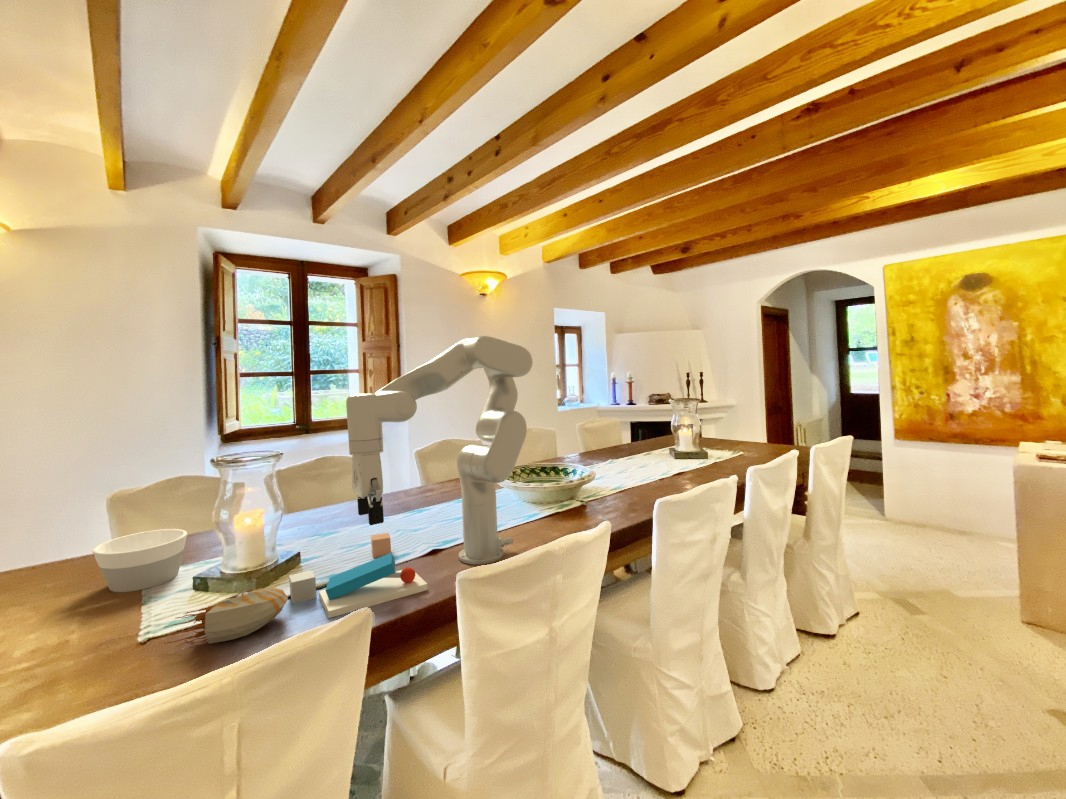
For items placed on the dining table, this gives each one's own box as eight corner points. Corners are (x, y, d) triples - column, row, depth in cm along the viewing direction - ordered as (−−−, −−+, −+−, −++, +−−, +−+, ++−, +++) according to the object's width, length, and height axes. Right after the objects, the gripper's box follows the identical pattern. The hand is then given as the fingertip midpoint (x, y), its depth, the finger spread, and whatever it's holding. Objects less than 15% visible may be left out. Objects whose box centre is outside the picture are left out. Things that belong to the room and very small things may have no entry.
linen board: (410, 573, 124) (410, 567, 124) (427, 589, 114) (427, 583, 114) (319, 597, 112) (318, 591, 112) (329, 618, 102) (328, 611, 102)
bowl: (137, 599, 114) (134, 555, 114) (74, 594, 118) (71, 552, 117) (207, 567, 133) (204, 529, 132) (151, 564, 137) (148, 527, 136)
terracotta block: (389, 549, 143) (388, 532, 142) (391, 554, 138) (390, 537, 138) (371, 552, 141) (370, 535, 140) (373, 557, 136) (372, 540, 136)
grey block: (313, 590, 116) (312, 570, 116) (316, 597, 112) (315, 576, 112) (290, 595, 113) (289, 575, 113) (292, 603, 109) (291, 582, 109)
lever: (336, 619, 107) (418, 584, 112) (325, 590, 106) (407, 556, 111) (340, 605, 114) (416, 572, 119) (329, 577, 113) (407, 546, 118)
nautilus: (151, 669, 86) (181, 632, 100) (283, 636, 93) (294, 606, 107) (146, 626, 86) (177, 595, 100) (278, 596, 93) (289, 572, 107)
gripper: (341, 444, 116) (345, 513, 117) (358, 452, 102) (363, 531, 103) (372, 441, 120) (376, 507, 121) (393, 448, 106) (398, 524, 107)
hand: (370, 518), depth 112 cm, fingers open, 9 cm apart
